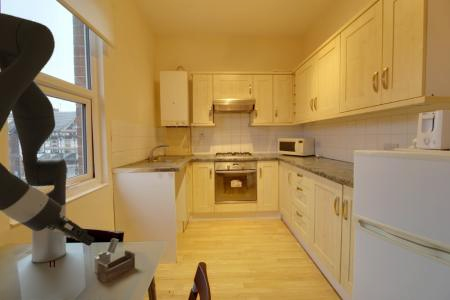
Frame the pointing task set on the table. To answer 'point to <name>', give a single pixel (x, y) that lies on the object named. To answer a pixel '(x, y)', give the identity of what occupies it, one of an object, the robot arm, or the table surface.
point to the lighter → (106, 254)
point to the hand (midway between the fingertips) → (83, 239)
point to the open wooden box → (116, 267)
